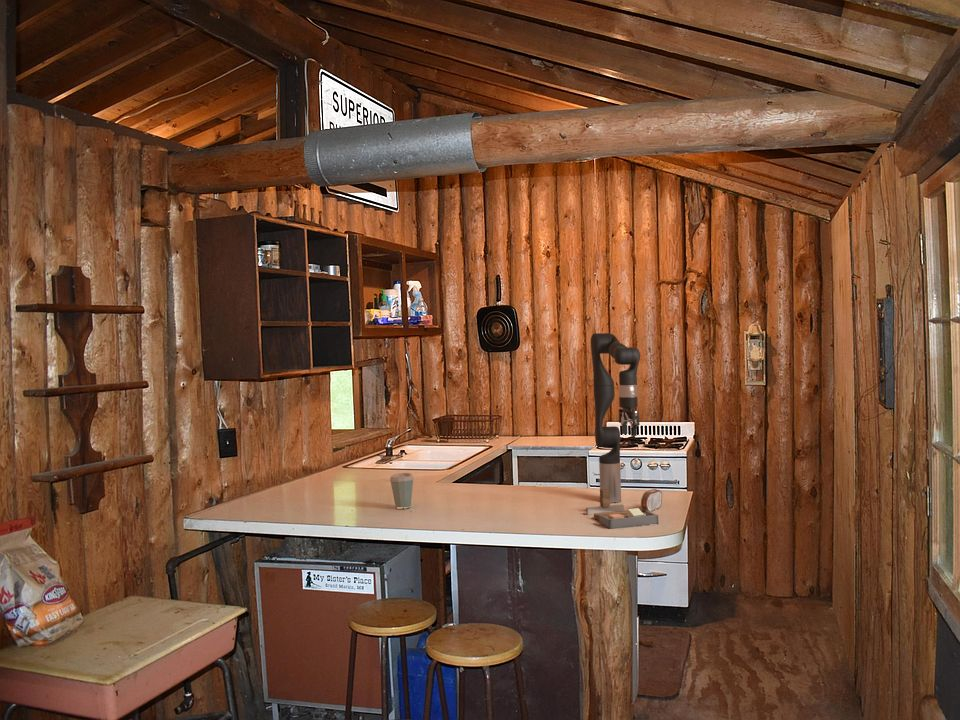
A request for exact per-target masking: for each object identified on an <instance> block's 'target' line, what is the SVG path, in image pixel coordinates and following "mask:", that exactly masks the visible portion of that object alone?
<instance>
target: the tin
mask: <svg viewBox="0 0 960 720" xmlns="http://www.w3.org/2000/svg"><path fill="white" fill-rule="evenodd" d="M662 503H663V492H662V491H661V489H656V488H653V489H650V490H646V491H645V492H643V494H642V496H641V501H640V506H641V511H642V512H646V511H649V512H650V511H651V512H653V510H654V511H656V510H655V509H657V510H659V509H660V508H661V506H662ZM658 508H659V509H658Z"/></svg>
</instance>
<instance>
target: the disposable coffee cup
mask: <svg viewBox="0 0 960 720" xmlns="http://www.w3.org/2000/svg"><path fill="white" fill-rule="evenodd" d="M389 481H390V485H391V490H392V495H393V500H394V505H395V508H396V507H409V506H410V507H412V497H413V496H412V495H413V484H414V483H413V482H414V476H413V474H412V473H410V472H401V473H399V472H398V473H395V474H392V475H391V476H390V478H389Z"/></svg>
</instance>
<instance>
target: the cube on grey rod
mask: <svg viewBox="0 0 960 720" xmlns="http://www.w3.org/2000/svg"><path fill="white" fill-rule="evenodd" d="M599 505H600V506H590V507H586V509H585V512H586V513H585V514H587V516H594V515H593V514H594V513H604V512H615V511H625V505H624V504H613V505H611V503H610V491H609V490H608V489H600V488H599Z"/></svg>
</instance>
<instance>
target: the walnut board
mask: <svg viewBox="0 0 960 720" xmlns="http://www.w3.org/2000/svg"><path fill="white" fill-rule="evenodd" d="M627 513H628V509H627V510H624V511H615V512H604V513H594V515H593V519H594V518H595V519H594V520H597V521H598V522H600V515H603V516H605V517H607V518H608V515H612V514H620V515H623V516H624V518H628V516H627Z"/></svg>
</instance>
